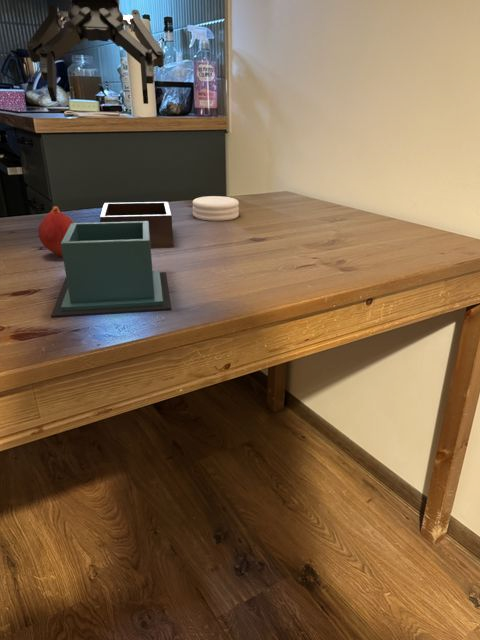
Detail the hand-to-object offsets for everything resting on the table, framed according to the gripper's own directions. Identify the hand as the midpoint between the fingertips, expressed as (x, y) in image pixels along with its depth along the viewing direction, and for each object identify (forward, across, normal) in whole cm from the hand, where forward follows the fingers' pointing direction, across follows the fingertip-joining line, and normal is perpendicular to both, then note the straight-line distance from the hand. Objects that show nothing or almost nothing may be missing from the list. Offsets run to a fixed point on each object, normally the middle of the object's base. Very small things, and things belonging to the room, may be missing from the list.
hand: (99, 96), depth 75 cm
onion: (+20, -8, +13) cm, 25 cm away
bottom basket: (+14, +4, +19) cm, 24 cm away
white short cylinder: (+1, +20, +32) cm, 37 cm away
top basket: (+33, +1, 0) cm, 33 cm away
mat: (+33, +1, 0) cm, 33 cm away
